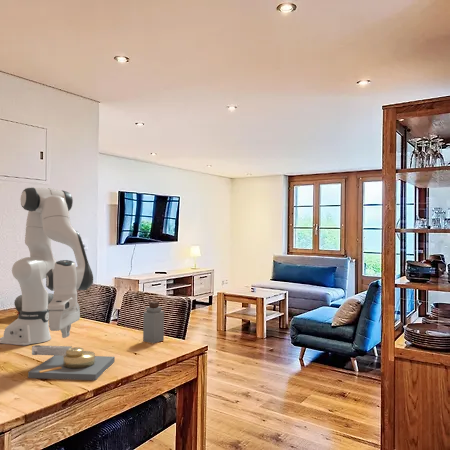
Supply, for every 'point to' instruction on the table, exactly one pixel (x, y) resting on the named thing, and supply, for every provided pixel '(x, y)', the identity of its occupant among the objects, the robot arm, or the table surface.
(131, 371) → the table surface
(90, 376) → the stand plate
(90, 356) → the dial
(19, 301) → the gourd
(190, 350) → the table surface
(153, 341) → the perfume bottle
